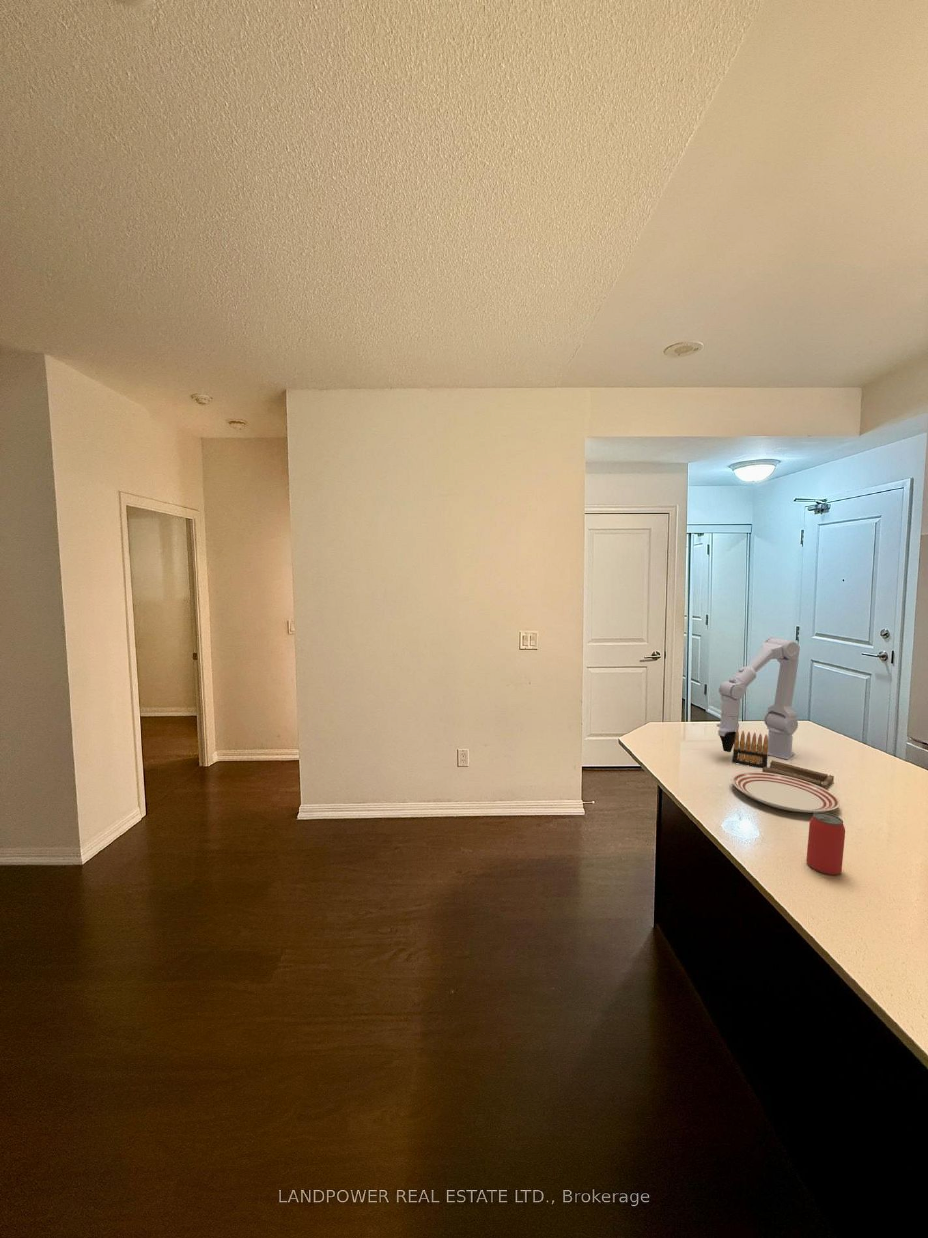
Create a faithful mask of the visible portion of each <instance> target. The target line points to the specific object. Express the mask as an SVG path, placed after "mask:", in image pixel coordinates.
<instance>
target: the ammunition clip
mask: <svg viewBox="0 0 928 1238" xmlns="http://www.w3.org/2000/svg"><path fill="white" fill-rule="evenodd" d="M735 732H736V734H735V740H734V744H733V747H732V759H731V763H732V764H736V763H739V764H738V765H741V764H742V766H747V765H749V766H748V767H753V768H759V769H762V768H764V767H768V756H769V755H768V734H764V740H763V735H762V733H759V735H758V738H757V734H756V732H753V734H752V739H751V733H750V731H748V732H747V735H745V731H744V730H742V732H741V735H740V732H739V730H737V731H735ZM745 736H746V737H745Z"/></svg>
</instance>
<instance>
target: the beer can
mask: <svg viewBox="0 0 928 1238" xmlns="http://www.w3.org/2000/svg"><path fill="white" fill-rule="evenodd" d="M812 813H813V814H812V817H811V818H810V821H809V823H808V824H809V826H808V835H807V836H808V837H807V850H806V858H805V860H806V863H807V865H808V866H809V867H811V868H812V869H814V870H815V871H817V872H818V873H822V874H826V875H832V876H833V875H834V876H836V875H839V874H841V873H842V869H843V863H844V861H843V859H844V849H845V838H846V827H845V825H844V821H843V819H842V818H840V817H839V816H838V815H835V814H832V813H830V812H812Z"/></svg>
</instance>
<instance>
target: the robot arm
mask: <svg viewBox="0 0 928 1238" xmlns="http://www.w3.org/2000/svg"><path fill="white" fill-rule="evenodd" d="M800 648H801V647H800V645H799V644H798V642H796V641H795V640H793V639H790V640H789V639H782V638H776V637H773V636H769V637H768V638H767V639H765V641H764V642H763V643H761V650H760V651H758V653H757V654H756V656H754V657H753V658H752V660H751V662H749V664H748V665H747V666H742V667H739V668H738V670H737V672H736V673H734V675H732V676H731V677H730V679H729V680H726V681H723V682H722V683H721V684H720V686H719V687H718V693H719V694H720V700H721V709H720V711H721V712H720V721H719V723H716V727H718V728H719V729H718V731H717V733H718V734H717V736H719V738H720V740H721V744H722V749H723V752H727V753H731V752H732V751H733V748H734V740H735V734H736V731H737V730H738V731H739V729H740V723H739V721H740V707H741V705H740V704H741V699H742V698H744V696H745V695H746V691H747V689H748V687H749V686H750V685H751V683H752V682H753V681H755V680H756V678H757V672H759V671H760V669H762V668H763V667H765V665H766V664H767V663H769V662H770V661H771V660H776V661H777V662H778V663H779V670H778V677H777V682H776V683H777V684H776V689H775V690H776V691H775V695H774V704H772V705H770V706H768V707H767V712H766V713H765V716H764V719H763V723H764V724H765V726H766V727H767V728H766V729H767V730H768V734H767V736H768V756H771V757H776V758H780V759H783V760H789V759H791V757H793V756H794V755H795V752H793V750H792V749H793V735H794V733H795V732H796V731H797V730H798V728H799V723H798V714H797V712H795V710H794V708H793V707H792V705H793V700H794V692H795V687H796V679H797V672H798V666H799V657H800V656H799V654H800V650H801V649H800Z"/></svg>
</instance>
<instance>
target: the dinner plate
mask: <svg viewBox="0 0 928 1238" xmlns="http://www.w3.org/2000/svg"><path fill="white" fill-rule="evenodd" d="M730 781H731V783H732V785H733V786H734V787H735V788H736V789H738V790H739V792H741V793H743V794H744V795H745V796H747V797H750V799H753V800H755V801H757V802H759V803H762V804H764V805H766V806H769V807H772V808H775V809H779V810H783V811H786V812H787V811H789V812H793V813H794V812H796V813H811V814H812V813H815V812H824V813H826V812H830V811H833V810H836V809H837V808H839V807H840V806H841V801H840V799H839V798H838V797H837V796H836V795H835V794H834V793H832V792H831V791H830V790H829V789H827V790H826V789H824V788H822V787H819V786H817V785H815V784H812V783H809V782H806V781H803V780H800V779H796V778H793V777H789V776H784V775H779V774H773V773H765V772H762V771H744V772H739V773H736V774H734V775H732V777H731V779H730Z"/></svg>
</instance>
